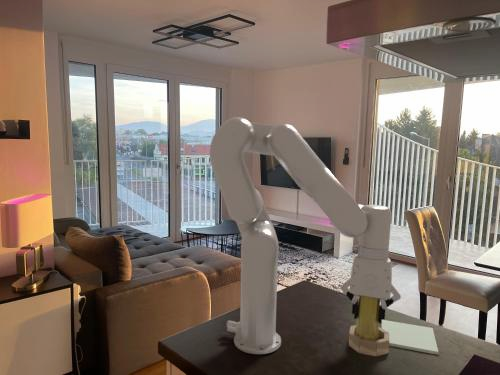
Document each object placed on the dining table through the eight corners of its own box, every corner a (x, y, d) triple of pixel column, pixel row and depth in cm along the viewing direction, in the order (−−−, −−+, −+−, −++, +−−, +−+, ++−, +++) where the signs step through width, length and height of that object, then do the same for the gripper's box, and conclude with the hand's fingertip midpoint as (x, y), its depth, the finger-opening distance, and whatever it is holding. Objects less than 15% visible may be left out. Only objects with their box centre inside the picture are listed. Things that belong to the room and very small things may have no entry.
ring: (347, 350, 97) (348, 337, 97) (351, 333, 106) (351, 321, 106) (388, 359, 93) (389, 345, 93) (388, 340, 103) (389, 328, 102)
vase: (375, 330, 102) (379, 279, 101) (381, 341, 96) (385, 288, 95) (353, 328, 103) (356, 278, 101) (357, 339, 97) (361, 286, 95)
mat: (380, 344, 101) (380, 341, 101) (381, 322, 114) (381, 319, 114) (438, 354, 96) (438, 351, 96) (432, 330, 109) (432, 328, 109)
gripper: (337, 251, 97) (333, 318, 99) (409, 261, 91) (403, 332, 93) (341, 245, 104) (336, 307, 106) (407, 253, 98) (402, 319, 100)
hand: (367, 318), depth 99 cm, fingers closed on vase, 5 cm apart
